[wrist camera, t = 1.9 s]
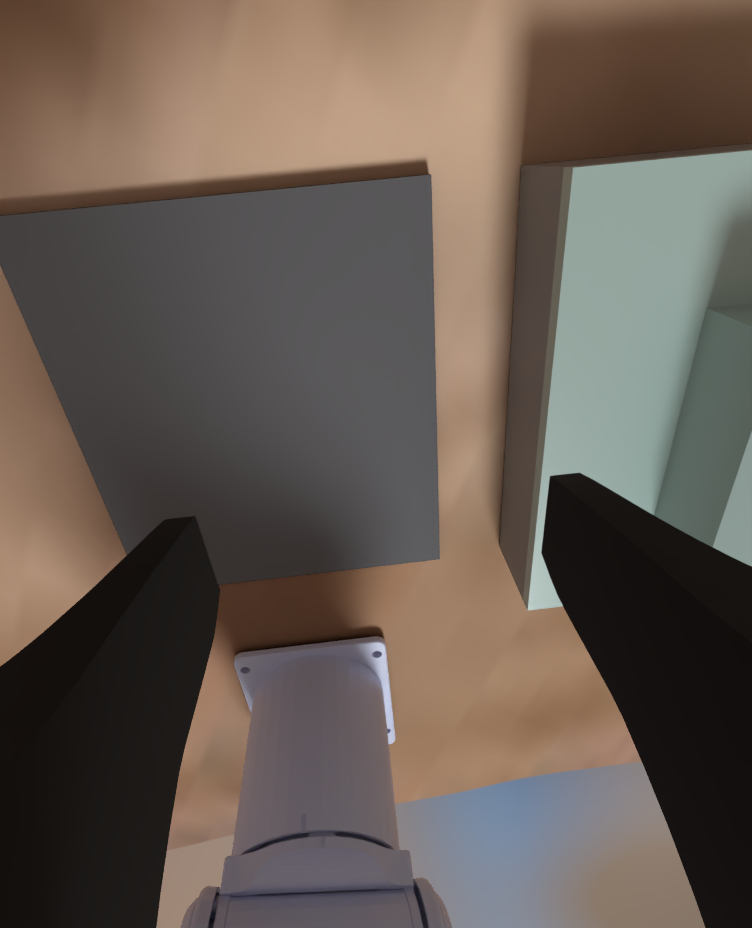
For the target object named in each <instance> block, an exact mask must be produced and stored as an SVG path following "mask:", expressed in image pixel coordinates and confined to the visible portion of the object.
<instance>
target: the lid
mask: <svg viewBox="0 0 752 928" xmlns="http://www.w3.org/2000/svg"><path fill="white" fill-rule="evenodd" d="M571 473H581V474H583V475H585V476H587V477H589V478H591V479H593V480H595V481H596V482H598V483H600V484H602V485H603V486H605V487H607V488H608V489H610V490H612V491H613V492H615V493H617V494H619V495H620V496H622V497H624V498H625V499H627V500H629V501H630V502H632V503H634V504H635V505H637V506H639V507H640V508H642V509H644V510H646V511H647V512H649V513H651V514H652V515H654V516H656V517H658V518H659V519H661V520H663V521H665V522H666V523H668V524H670V525H672V526H674V527H675V528H677V529H679V530H681V531H683V532H684V533H686V534H688V535H690V536H692V537H694V538H696V539H697V540H699V541H701V542H703V543H705V544H707V545H709V546H711V547H713V548H715V549H717V550H719V551H721V552H723V553H725V554H727V555H729V556H731V557H733V558H735V559H737V560H739V561H741V562H743V563H745V564H747V565H749V566H752V149H748V150H737V151H727V152H716V153H706V154H696V155H685V156H675V157H665V158H654V159H644V160H634V161H623V162H613V163H603V164H592V165H582V166H572V167H564V171H563V181H562V192H561V202H560V213H559V224H558V234H557V245H556V255H555V266H554V277H553V287H552V298H551V308H550V319H549V329H548V340H547V351H546V361H545V372H544V382H543V393H542V403H541V414H540V425H539V435H538V446H537V456H536V467H535V477H534V488H533V499H532V509H531V520H530V530H529V541H528V551H527V562H526V573H525V583H524V594H523V601H524V603H525V606H526V608H527V610H536V609H544V608H553V607H561V606H563V605H562V603H561V601H560V599H559V597H558V595H557V593H556V590H555V588H554V585H553V583H552V580H551V578H550V575H549V573H548V570H547V567H546V565H545V562H544V559H543V556H542V554H541V550H542V541H543V533H544V524H545V515H546V506H547V497H548V488H549V479H550V476H554V475H562V474H571Z"/></svg>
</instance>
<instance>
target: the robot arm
mask: <svg viewBox="0 0 752 928" xmlns="http://www.w3.org/2000/svg"><path fill="white" fill-rule="evenodd" d="M541 554H542V556H543V559H544V562H545V565H546V567H547V570H548V573H549V575H550V578H551V580H552V583H553V585H554V588H555V590H556V593H557V595H558V597H559V599H560V601H561V603H562V605H563V607H564V609H565V610H566V612H567V614H568V616H569V618H570V620H571V622H572V623H573V625H574V627H575V629H576V631H577V633H578V634H579V636H580V638H581V640H582V642H583V643H584V645H585V647H586V649H587V651H588V652H589V654H590V656H591V658H592V660H593V662H594V663H595V665H596V667H597V669H598V671H599V672H600V674H601V676H602V678H603V680H604V681H605V683H606V685H607V687H608V689H609V691H610V692H611V694H612V696H613V698H614V700H615V702H616V704H617V706H618V708H619V710H620V712H621V714H622V716H623V719H624V721H625V723H626V726H627V728H628V730H629V733H630V735H631V737H632V740H633V742H634V744H635V747H636V749H637V751H638V754H639V756H640V758H641V761H642V763H643V765H644V767H645V770H646V772H647V775H648V777H649V780H650V782H651V785H652V787H653V790H654V792H655V794H656V797H657V800H658V802H659V804H660V807H661V809H662V812H663V815H664V817H665V820H666V822H667V824H668V827H669V829H670V832H671V835H672V838H673V840H674V843H675V846H676V848H677V851H678V853H679V856H680V859H681V861H682V864H683V867H684V869H685V872H686V875H687V877H688V880H689V883H690V885H691V888H692V891H693V893H694V896H695V899H696V901H697V905H698V907H699V910H700V913H701V916H702V919H703V922H704V925H705V927H706V928H752V566H749V565H747V564H745V563H743V562H741V561H739V560H737V559H735V558H733V557H731V556H729V555H727V554H725V553H723V552H721V551H719V550H717V549H715V548H713V547H711V546H709V545H707V544H705V543H703V542H701V541H699V540H697V539H696V538H694V537H692V536H690V535H688V534H686V533H684V532H683V531H681V530H679V529H677V528H675V527H674V526H672V525H670V524H668V523H666V522H665V521H663V520H661V519H659V518H658V517H656V516H654V515H652V514H651V513H649V512H647V511H646V510H644V509H642V508H640V507H639V506H637V505H635V504H634V503H632V502H630V501H629V500H627V499H625V498H624V497H622V496H620V495H619V494H617V493H615V492H613V491H612V490H610V489H608V488H607V487H605V486H603V485H602V484H600V483H598V482H596V481H595V480H593V479H591V478H589V477H587V476H585V475H583V474H581V473H571V474H562V475H554V476H550V479H549V488H548V497H547V506H546V515H545V524H544V533H543V541H542V550H541ZM219 594H220V589H219V586H218V583H217V580H216V577H215V574H214V571H213V568H212V565H211V562H210V559H209V556H208V553H207V550H206V547H205V544H204V540H203V537H202V534H201V531H200V528H199V525H198V522H197V519H196V516H190V517H181V518H172V519H165V520H164V521H163V522H161V523H160V524H159V525H158V526H157V527H156V528H155V529H154V530H153V531H151V532H150V533H149V534H148V535H147V536H146V537H145V538H144V539H143V540H142V541H141V542H140V543H139V544H138V545H137V546H136V547H135V548H134V549H133V550H132V551H131V552H130V553H129V554H128V555H127V556H126V557H125V558H124V559H123V560H122V561H121V562H120V563H119V564H118V565H117V566H115V567H114V568H113V569H112V570H111V571H110V572H109V573H108V574H107V575H106V576H105V577H104V578H103V579H102V580H101V581H100V582H99V583H98V584H97V585H96V586H95V587H94V588H93V589H92V590H90V591H89V592H88V593H87V594H86V595H85V596H84V597H83V598H82V599H80V600H79V601H78V602H77V603H76V604H75V605H74V606H73V607H71V608H70V609H69V610H68V611H67V612H66V613H65V614H64V615H62V616H61V617H60V618H59V619H58V620H57V621H56V622H54V623H53V624H52V625H51V626H50V627H49V628H48V629H47V630H45V631H44V632H43V633H42V634H41V635H40V636H38V637H37V638H36V639H35V640H34V641H32V642H31V643H30V644H29V645H27V646H26V647H25V648H24V649H23V650H21V651H20V652H19V653H18V654H16V655H15V656H14V657H12V658H11V659H10V660H9V661H7V662H6V663H5V664H3V665H2V666H1V667H0V928H156V925H157V917H158V908H159V900H160V892H161V885H162V878H163V872H164V865H165V858H166V851H167V844H168V838H169V831H170V824H171V818H172V812H173V806H174V800H175V794H176V788H177V782H178V776H179V771H180V766H181V762H182V757H183V753H184V749H185V744H186V741H187V737H188V733H189V730H190V726H191V722H192V718H193V715H194V711H195V707H196V704H197V700H198V696H199V692H200V689H201V685H202V681H203V678H204V674H205V670H206V666H207V662H208V659H209V655H210V651H211V647H212V643H213V639H214V634H215V627H216V620H217V612H218V603H219ZM375 651H377V652H375ZM234 666H235V669H236V672H237V675H238V678H239V681H240V684H241V687H242V690H243V692H244V695H245V698H246V701H247V704H248V707H249V710H250V713H251V719H250V727H249V734H248V741H247V748H246V755H245V763H244V770H243V777H242V784H241V791H240V799H239V806H238V813H237V820H236V828H235V835H234V842H233V849H232V856H227V857H226V858H225V862H224V869H223V876H222V882H221V889H220V887H212V886H207V887H205V888H204V889H203V890H202V891H201V893H200V895H199V897H198V898H197V899H196V900H195V901H194V902H193V903H192V904H191V905H190V906H189V908H188V909H187V911H186V913H185V916H184V919H183V921H182V925H181V928H452V926H451V922H450V919H449V916H448V913H447V910H446V908H445V905H444V903H443V901H442V900H441V898H440V897H439V896H438V894H437V893H436V892H435V891H434V889H433V887H432V886H431V884H430V883H429V882H428V880H427V879H424V878H416V879H413V874H412V866H411V857H410V852H409V851H408V850H399V841H398V831H397V821H396V811H395V801H394V791H393V782H392V772H391V762H390V752H389V744H392V743H393V742H394V741H395V730H394V720H393V711H392V701H391V692H390V683H389V673H388V664H387V655H386V645H385V640H384V639H383V638H382V637H378V636H374V637H366V638H357V639H349V640H341V641H332V642H324V643H316V644H307V645H299V646H291V647H282V648H274V649H266V650H257V651H249V652H242V653H238V654H237V655H236V656H235V658H234Z"/></svg>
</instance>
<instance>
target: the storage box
mask: <svg viewBox="0 0 752 928" xmlns="http://www.w3.org/2000/svg"><path fill="white" fill-rule="evenodd" d="M748 149H752V143H749V144H739V145H728V146H718V147H707V148H697V149H687V150H676V151H666V152H656V153H645V154H635V155H624V156H614V157H604V158H593V159H583V160H573V161H562V162H552V163H541V164H531V165H521V178H520V195H519V213H518V230H517V248H516V265H515V283H514V300H513V318H512V335H511V353H510V370H509V388H508V406H507V423H506V441H505V458H504V476H503V493H502V511H501V528H500V546H499V547H500V549H501V551H502V553H503V556H504V558H505V560H506V562H507V565H508V567H509V569H510V572H511V574H512V576H513V578H514V581H515V583H516V585H517V587H518V590H519V592H520V594H521V597H522V599H523V594H524V583H525V573H526V562H527V551H528V541H529V530H530V520H531V509H532V499H533V488H534V477H535V467H536V456H537V446H538V435H539V425H540V414H541V403H542V393H543V382H544V372H545V361H546V351H547V340H548V329H549V319H550V308H551V298H552V287H553V277H554V266H555V255H556V245H557V234H558V224H559V213H560V202H561V192H562V181H563V171H564V167H572V166H582V165H592V164H603V163H613V162H623V161H634V160H644V159H654V158H665V157H675V156H685V155H696V154H706V153H716V152H727V151H737V150H748Z"/></svg>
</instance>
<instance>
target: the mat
mask: <svg viewBox="0 0 752 928" xmlns="http://www.w3.org/2000/svg"><path fill="white" fill-rule="evenodd" d="M0 265H1V268H2V270H3V272H4V274H5V277H6V279H7V281H8V284H9V286H10V288H11V290H12V293H13V295H14V297H15V300H16V302H17V304H18V306H19V309H20V311H21V313H22V316H23V318H24V320H25V322H26V325H27V327H28V329H29V332H30V334H31V336H32V338H33V341H34V343H35V345H36V348H37V350H38V352H39V354H40V357H41V359H42V361H43V364H44V366H45V368H46V370H47V373H48V375H49V377H50V380H51V382H52V384H53V386H54V389H55V391H56V393H57V396H58V398H59V400H60V402H61V405H62V407H63V409H64V412H65V414H66V416H67V418H68V421H69V423H70V425H71V428H72V430H73V432H74V434H75V437H76V439H77V441H78V444H79V446H80V448H81V450H82V453H83V455H84V457H85V460H86V462H87V464H88V466H89V469H90V471H91V473H92V476H93V478H94V480H95V482H96V485H97V487H98V489H99V492H100V494H101V496H102V498H103V501H104V503H105V505H106V508H107V510H108V512H109V515H110V517H111V519H112V521H113V524H114V526H115V528H116V531H117V533H118V535H119V537H120V540H121V542H122V544H123V547H124V549H125V551H126V553H127V555H128V554H129V553H130V552H131V551H132V550H133V549H134V548H135V547H136V546H137V545H138V544H139V543H140V542H141V541H142V540H143V539H144V538H145V537H146V536H147V535H148V534H149V533H150V532H151V531H153V530H154V529H155V528H156V527H157V526H158V525H159V524H160V523H161V522H163V521H164V520H165V519H172V518H181V517H190V516H196V519H197V522H198V525H199V528H200V531H201V534H202V537H203V540H204V544H205V547H206V550H207V553H208V556H209V559H210V562H211V565H212V568H213V571H214V574H215V577H216V580H217V583H218V585H222V584H230V583H239V582H247V581H256V580H265V579H273V578H282V577H290V576H299V575H308V574H316V573H325V572H333V571H342V570H350V569H359V568H368V567H376V566H385V565H393V564H402V563H411V562H419V561H428V560H436V559H440V552H439V506H438V460H437V415H436V369H435V324H434V278H433V232H432V187H431V175H430V174H427V175H417V176H406V177H396V178H386V179H375V180H365V181H355V182H344V183H334V184H323V185H313V186H303V187H292V188H282V189H272V190H261V191H251V192H240V193H230V194H220V195H209V196H199V197H189V198H178V199H168V200H157V201H147V202H137V203H126V204H116V205H106V206H95V207H85V208H74V209H64V210H54V211H43V212H33V213H22V214H12V215H2V216H0Z"/></svg>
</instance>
